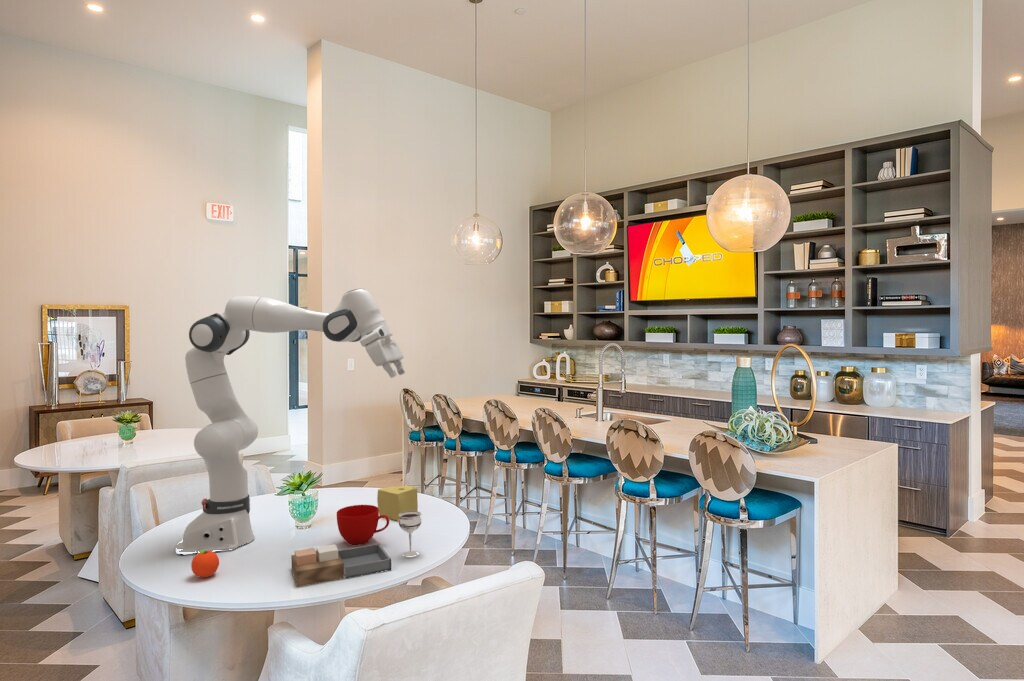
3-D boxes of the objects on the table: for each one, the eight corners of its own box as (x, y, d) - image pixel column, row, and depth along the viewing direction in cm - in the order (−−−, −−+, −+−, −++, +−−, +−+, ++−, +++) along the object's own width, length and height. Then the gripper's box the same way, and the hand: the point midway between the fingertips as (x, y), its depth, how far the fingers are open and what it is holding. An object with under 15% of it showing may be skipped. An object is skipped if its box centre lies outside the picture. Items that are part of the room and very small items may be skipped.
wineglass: (402, 549, 186) (401, 510, 185) (424, 550, 185) (423, 511, 185) (396, 558, 179) (395, 517, 179) (418, 558, 178) (418, 517, 178)
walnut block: (297, 586, 160) (296, 571, 160) (291, 569, 172) (291, 555, 172) (343, 578, 165) (343, 563, 165) (335, 561, 177) (335, 548, 177)
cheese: (398, 509, 227) (398, 483, 227) (419, 514, 221) (419, 487, 221) (377, 517, 219) (376, 489, 219) (398, 522, 213) (397, 493, 213)
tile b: (296, 566, 164) (296, 556, 164) (294, 559, 168) (294, 550, 168) (316, 562, 166) (316, 553, 166) (313, 556, 170) (313, 547, 170)
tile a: (319, 562, 166) (319, 553, 166) (316, 556, 171) (316, 547, 171) (338, 558, 168) (338, 549, 168) (335, 553, 173) (334, 544, 173)
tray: (346, 578, 165) (345, 567, 165) (336, 560, 178) (336, 550, 177) (391, 569, 170) (391, 559, 170) (379, 553, 183) (379, 543, 183)
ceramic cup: (381, 551, 185) (380, 518, 185) (329, 548, 188) (328, 515, 188) (397, 536, 198) (396, 506, 197) (348, 534, 201) (348, 503, 201)
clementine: (182, 579, 166) (181, 553, 166) (203, 569, 173) (202, 544, 172) (205, 583, 163) (204, 556, 163) (225, 573, 170) (224, 547, 170)
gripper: (379, 339, 200) (398, 377, 200) (357, 341, 180) (379, 383, 180) (395, 330, 200) (415, 368, 199) (375, 331, 179) (397, 373, 179)
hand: (398, 375), depth 189 cm, fingers open, 8 cm apart
